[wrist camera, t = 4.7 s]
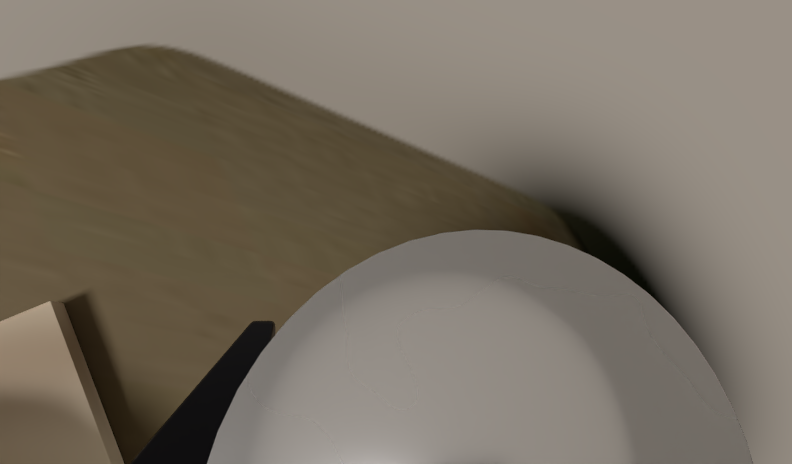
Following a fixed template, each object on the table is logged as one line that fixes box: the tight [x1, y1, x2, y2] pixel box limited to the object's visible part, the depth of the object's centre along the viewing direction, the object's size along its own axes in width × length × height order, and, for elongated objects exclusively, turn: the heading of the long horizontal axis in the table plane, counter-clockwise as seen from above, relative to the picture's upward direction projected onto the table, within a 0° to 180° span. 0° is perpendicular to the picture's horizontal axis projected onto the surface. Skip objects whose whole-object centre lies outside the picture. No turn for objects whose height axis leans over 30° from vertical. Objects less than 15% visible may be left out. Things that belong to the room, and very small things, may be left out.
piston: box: [207, 230, 753, 464], centre depth 9 cm, size 5×5×12 cm
